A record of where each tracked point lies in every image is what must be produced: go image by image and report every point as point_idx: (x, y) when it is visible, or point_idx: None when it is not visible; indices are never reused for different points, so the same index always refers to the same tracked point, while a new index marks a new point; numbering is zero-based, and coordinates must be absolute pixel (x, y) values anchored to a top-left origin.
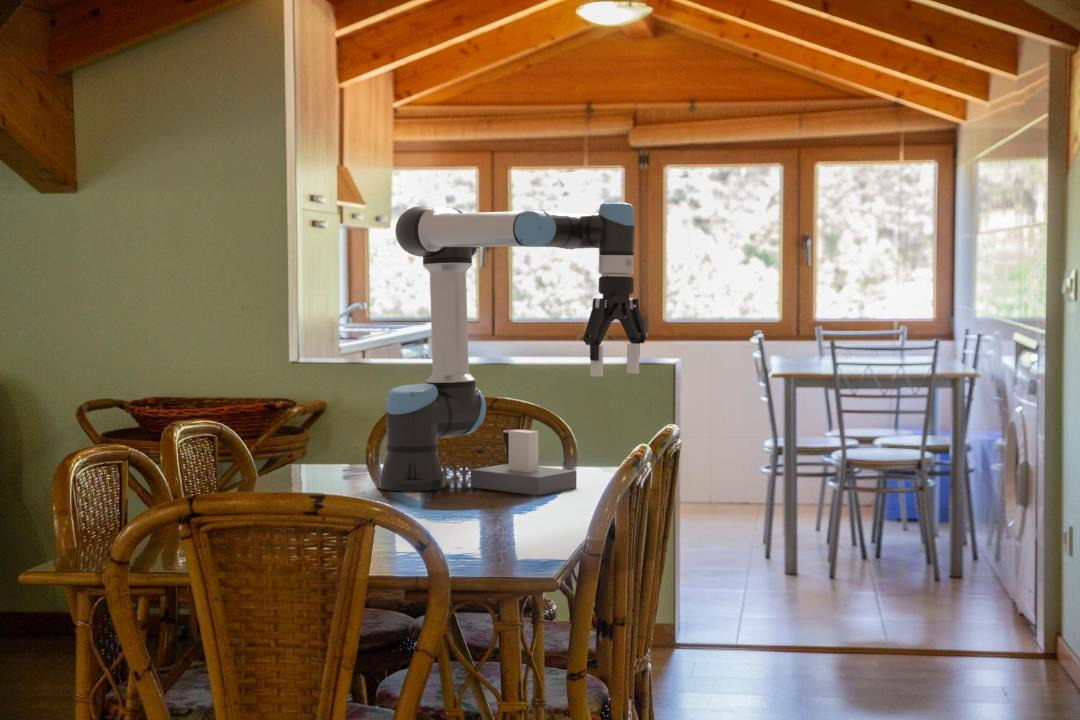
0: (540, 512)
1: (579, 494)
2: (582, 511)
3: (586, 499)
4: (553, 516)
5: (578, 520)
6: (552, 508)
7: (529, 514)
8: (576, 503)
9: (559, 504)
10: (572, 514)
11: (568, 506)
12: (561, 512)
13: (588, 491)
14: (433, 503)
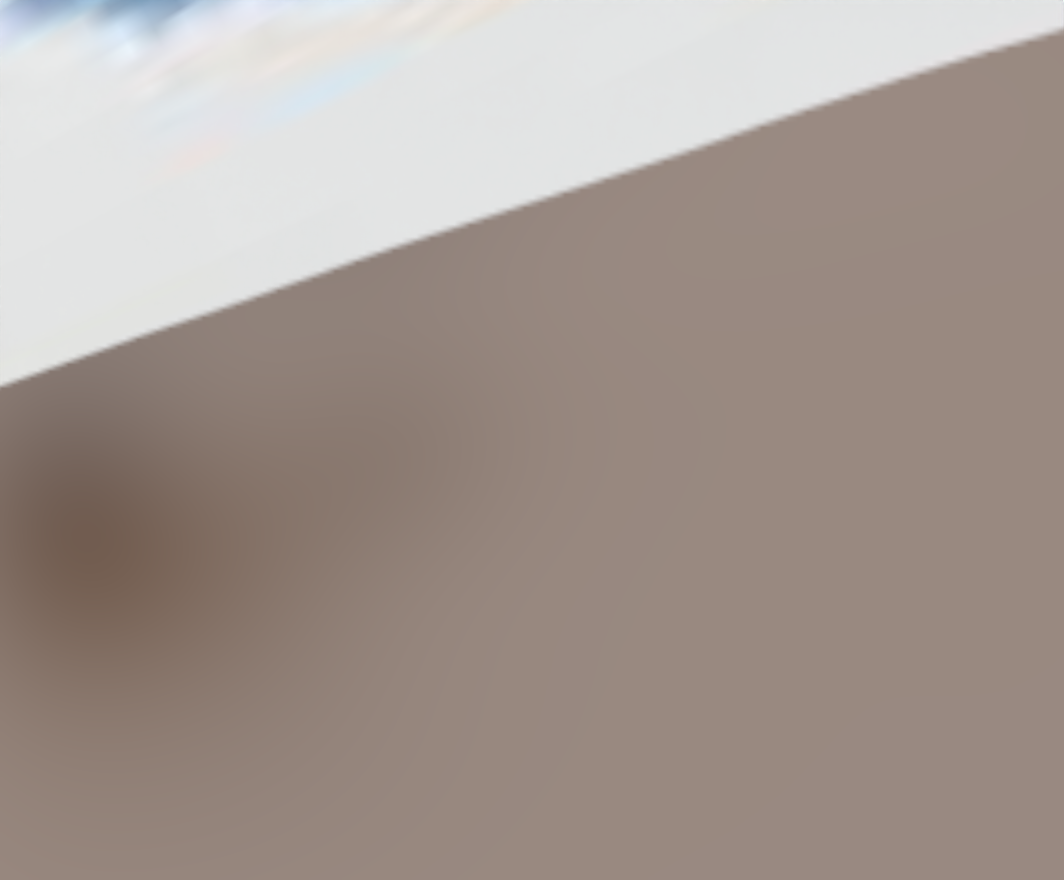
0: (107, 85)
1: (819, 11)
2: (242, 286)
3: (634, 144)
4: (43, 204)
5: (15, 364)
6: (248, 90)
7: (27, 57)
8: (466, 148)
9: (389, 66)
10: (139, 272)
11: (350, 147)
12: (162, 193)
13: (981, 12)
14: None
